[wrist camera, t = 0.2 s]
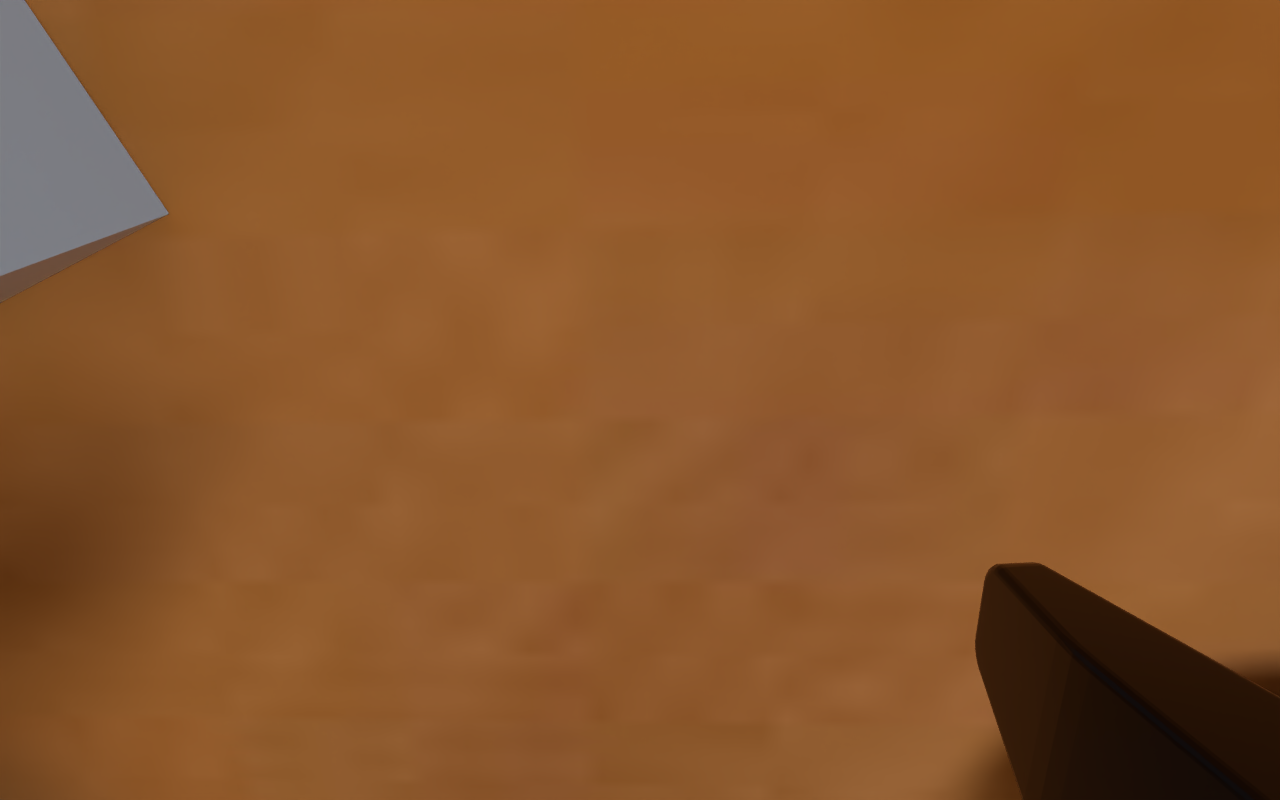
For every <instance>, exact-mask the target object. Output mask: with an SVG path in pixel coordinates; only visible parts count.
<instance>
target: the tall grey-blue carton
mask: <svg viewBox="0 0 1280 800" xmlns="http://www.w3.org/2000/svg"><path fill="white" fill-rule="evenodd" d="M168 214H169V213H168V212H167V210H166V209H165V207H164V206H163V204H162V203H161V201H160V200H159V198H158V197H157V195H156V194H155V192H154V191H153V190H152V188H151V187H150V185H149V184H148V182H147V181H146V179H145V178H144V176H143V175H142V173H141V172H140V170H139V169H138V167H137V166H136V164H135V163H134V161H133V160H132V158H131V157H130V156H129V154H128V153H127V151H126V150H125V148H124V147H123V145H122V144H121V142H120V141H119V139H118V138H117V136H116V135H115V133H114V132H113V130H112V129H111V127H110V126H109V125H108V123H107V122H106V120H105V119H104V117H103V116H102V114H101V113H100V111H99V110H98V108H97V107H96V105H95V104H94V102H93V101H92V99H91V98H90V96H89V95H88V94H87V92H86V91H85V89H84V88H83V86H82V85H81V83H80V82H79V80H78V79H77V77H76V76H75V74H74V73H73V71H72V70H71V68H70V67H69V65H68V64H67V62H66V61H65V60H64V58H63V57H62V55H61V54H60V52H59V51H58V49H57V48H56V46H55V45H54V43H53V42H52V40H51V39H50V37H49V36H48V34H47V33H46V31H45V30H44V29H43V27H42V26H41V24H40V23H39V21H38V20H37V18H36V17H35V15H34V14H33V12H32V11H31V9H30V8H29V6H28V5H27V3H26V2H25V0H0V303H1V302H3V301H5V300H7V299H8V298H10V297H12V296H14V295H16V294H18V293H20V292H22V291H24V290H25V289H27V288H29V287H31V286H33V285H35V284H37V283H39V282H41V281H43V280H44V279H46V278H48V277H50V276H52V275H54V274H56V273H58V272H60V271H61V270H63V269H65V268H67V267H69V266H71V265H73V264H75V263H77V262H79V261H80V260H82V259H84V258H86V257H88V256H90V255H92V254H94V253H96V252H98V251H99V250H101V249H103V248H105V247H107V246H109V245H111V244H113V243H115V242H116V241H118V240H120V239H122V238H124V237H126V236H128V235H130V234H132V233H134V232H135V231H137V230H139V229H141V228H143V227H145V226H147V225H149V224H151V223H152V222H154V221H156V220H158V219H160V218H162V217H164V216H166V215H168Z"/></svg>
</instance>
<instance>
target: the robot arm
mask: <svg viewBox="0 0 1280 800" xmlns="http://www.w3.org/2000/svg"><path fill="white" fill-rule="evenodd" d="M975 650H976V658H977V663H978V667H979V670H980V673H981V676H982V679H983V682H984V685H985V688H986V691H987V694H988V697H989V700H990V703H991V706H992V709H993V712H994V715H995V718H996V722H997V725H998V728H999V731H1000V734H1001V737H1002V740H1003V743H1004V746H1005V749H1006V752H1007V755H1008V758H1009V761H1010V764H1011V767H1012V770H1013V773H1014V776H1015V779H1016V782H1017V785H1018V788H1019V791H1020V794H1021V797H1022V800H1280V697H1279V696H1277V695H1276V694H1274V693H1272V692H1270V691H1268V690H1267V689H1265V688H1263V687H1261V686H1259V685H1258V684H1256V683H1254V682H1252V681H1250V680H1249V679H1247V678H1245V677H1243V676H1241V675H1240V674H1238V673H1236V672H1234V671H1233V670H1231V669H1229V668H1227V667H1225V666H1224V665H1222V664H1220V663H1218V662H1216V661H1215V660H1213V659H1211V658H1209V657H1207V656H1206V655H1204V654H1202V653H1200V652H1198V651H1197V650H1195V649H1193V648H1191V647H1190V646H1188V645H1186V644H1184V643H1182V642H1181V641H1179V640H1177V639H1175V638H1173V637H1172V636H1170V635H1168V634H1166V633H1164V632H1163V631H1161V630H1159V629H1157V628H1155V627H1154V626H1152V625H1150V624H1148V623H1146V622H1145V621H1143V620H1141V619H1139V618H1138V617H1136V616H1134V615H1132V614H1130V613H1129V612H1127V611H1125V610H1123V609H1121V608H1120V607H1118V606H1116V605H1114V604H1112V603H1111V602H1109V601H1107V600H1105V599H1103V598H1102V597H1100V596H1098V595H1096V594H1095V593H1093V592H1091V591H1089V590H1087V589H1086V588H1084V587H1082V586H1080V585H1078V584H1077V583H1075V582H1073V581H1071V580H1069V579H1068V578H1066V577H1064V576H1062V575H1060V574H1059V573H1057V572H1055V571H1053V570H1051V569H1050V568H1048V567H1046V566H1044V565H1042V564H1039V563H1033V562H1032V563H1009V564H996V565H994V566H993V567H991V568H990V569H989V570H988V572H987V574H986V577H985V581H984V587H983V593H982V599H981V606H980V612H979V619H978V625H977V632H976V639H975Z"/></svg>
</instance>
